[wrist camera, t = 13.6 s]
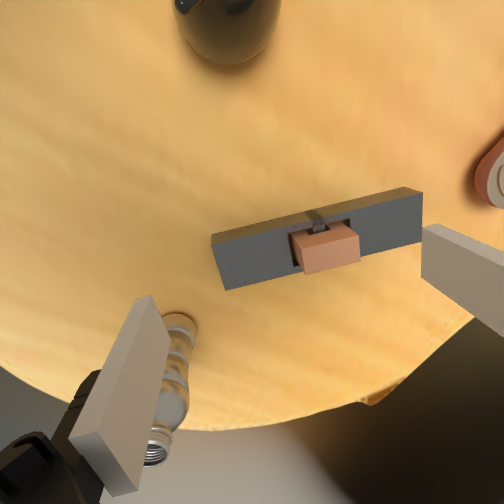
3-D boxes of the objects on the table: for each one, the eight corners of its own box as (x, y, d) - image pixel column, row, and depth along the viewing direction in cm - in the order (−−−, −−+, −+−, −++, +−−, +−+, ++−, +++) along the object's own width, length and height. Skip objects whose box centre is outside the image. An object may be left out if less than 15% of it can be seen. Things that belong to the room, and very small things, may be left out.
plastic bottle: (146, 320, 45) (96, 452, 26) (183, 300, 44) (158, 422, 26) (169, 347, 47) (139, 485, 29) (205, 329, 47) (197, 458, 28)
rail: (224, 277, 43) (225, 290, 40) (212, 234, 40) (211, 244, 37) (404, 232, 44) (421, 241, 40) (404, 186, 41) (422, 192, 37)
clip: (290, 249, 43) (305, 274, 35) (286, 228, 41) (301, 249, 34) (336, 238, 43) (360, 260, 35) (333, 216, 41) (358, 235, 34)
